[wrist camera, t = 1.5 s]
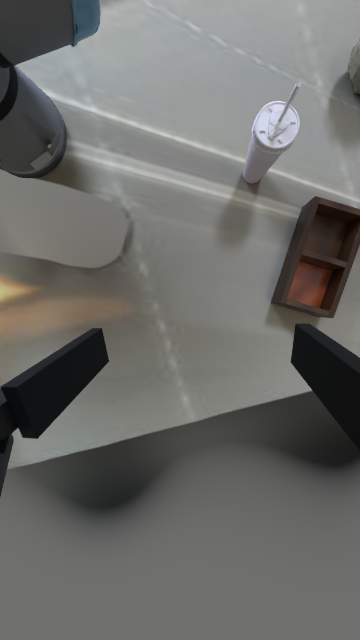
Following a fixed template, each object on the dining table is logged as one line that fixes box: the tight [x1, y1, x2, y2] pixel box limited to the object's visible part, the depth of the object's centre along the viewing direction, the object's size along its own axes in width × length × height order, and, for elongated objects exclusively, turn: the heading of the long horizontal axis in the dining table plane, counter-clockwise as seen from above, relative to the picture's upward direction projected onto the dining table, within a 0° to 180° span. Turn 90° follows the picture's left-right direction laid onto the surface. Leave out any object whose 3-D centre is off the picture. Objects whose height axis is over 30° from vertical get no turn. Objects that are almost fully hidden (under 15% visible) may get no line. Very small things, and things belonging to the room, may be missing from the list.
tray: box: [271, 196, 360, 318], centre depth 35 cm, size 10×19×4 cm, turn 163°
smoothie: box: [243, 82, 301, 184], centre depth 29 cm, size 6×6×14 cm
